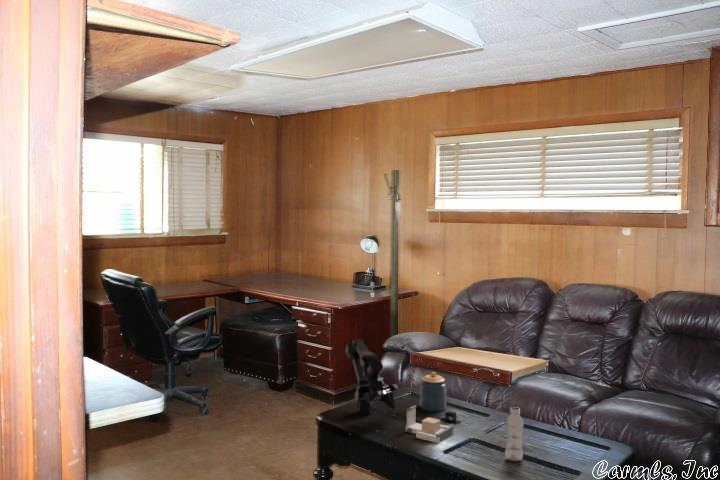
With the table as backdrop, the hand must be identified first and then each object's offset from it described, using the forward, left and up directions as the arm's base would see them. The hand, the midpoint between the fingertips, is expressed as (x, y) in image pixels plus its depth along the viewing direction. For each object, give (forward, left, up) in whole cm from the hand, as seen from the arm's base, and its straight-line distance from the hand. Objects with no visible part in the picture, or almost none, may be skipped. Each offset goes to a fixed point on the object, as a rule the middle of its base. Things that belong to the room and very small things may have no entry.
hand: (394, 408), depth 267 cm
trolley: (+16, 0, -8) cm, 18 cm away
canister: (+2, +33, -8) cm, 34 cm away
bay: (+21, 0, -7) cm, 22 cm away
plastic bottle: (+58, -5, -8) cm, 58 cm away
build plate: (+18, +21, -8) cm, 29 cm away
